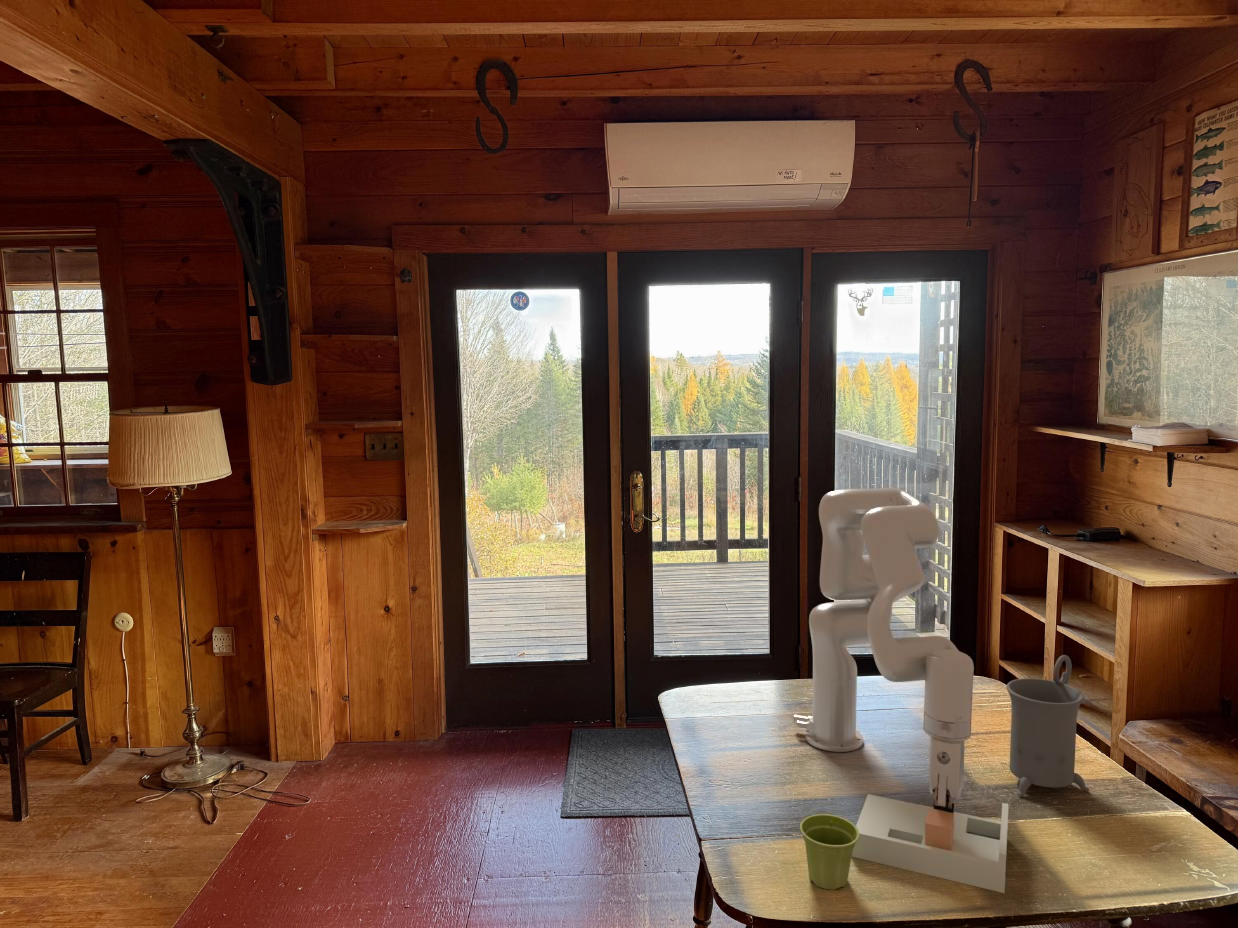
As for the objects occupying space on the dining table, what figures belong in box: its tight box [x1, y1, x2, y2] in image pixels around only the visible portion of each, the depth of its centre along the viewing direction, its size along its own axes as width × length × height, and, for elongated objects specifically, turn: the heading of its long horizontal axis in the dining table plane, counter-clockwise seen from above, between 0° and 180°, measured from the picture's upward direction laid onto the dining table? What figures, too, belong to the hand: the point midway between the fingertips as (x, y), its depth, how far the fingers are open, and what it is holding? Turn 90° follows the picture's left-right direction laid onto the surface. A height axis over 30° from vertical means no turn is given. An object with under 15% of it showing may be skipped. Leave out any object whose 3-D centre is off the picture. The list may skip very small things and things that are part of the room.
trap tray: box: [851, 793, 1009, 894], centre depth 144 cm, size 24×17×6 cm
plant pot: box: [799, 813, 859, 891], centre depth 136 cm, size 9×9×9 cm
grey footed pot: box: [1005, 654, 1090, 798], centre depth 165 cm, size 19×15×25 cm
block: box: [925, 808, 954, 851], centre depth 139 cm, size 4×4×5 cm
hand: (942, 824), depth 143 cm, fingers closed
